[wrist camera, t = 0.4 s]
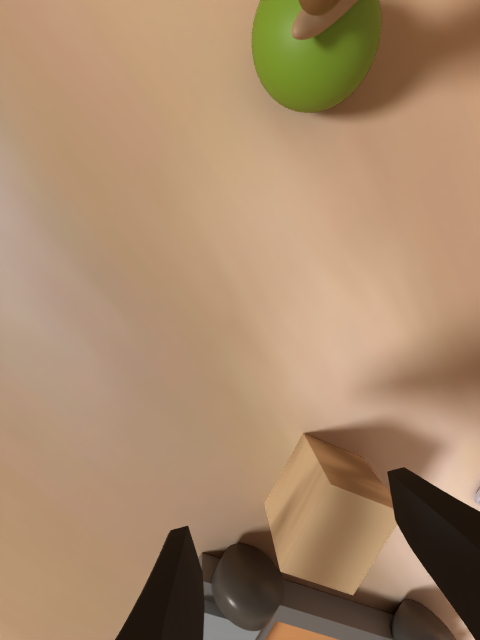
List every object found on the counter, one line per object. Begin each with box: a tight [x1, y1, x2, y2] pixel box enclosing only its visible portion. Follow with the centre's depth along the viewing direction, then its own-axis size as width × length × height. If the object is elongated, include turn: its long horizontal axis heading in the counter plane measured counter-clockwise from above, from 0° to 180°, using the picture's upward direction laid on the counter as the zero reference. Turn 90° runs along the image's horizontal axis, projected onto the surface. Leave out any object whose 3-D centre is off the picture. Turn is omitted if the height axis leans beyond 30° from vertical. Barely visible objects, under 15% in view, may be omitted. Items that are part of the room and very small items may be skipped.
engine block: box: [264, 433, 397, 595], centre depth 21 cm, size 4×6×5 cm
